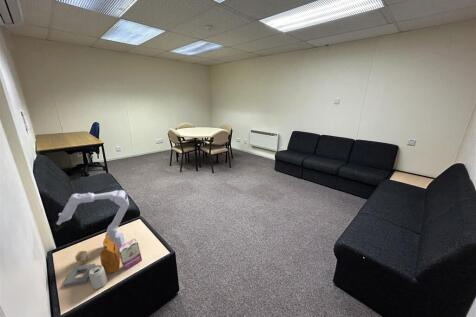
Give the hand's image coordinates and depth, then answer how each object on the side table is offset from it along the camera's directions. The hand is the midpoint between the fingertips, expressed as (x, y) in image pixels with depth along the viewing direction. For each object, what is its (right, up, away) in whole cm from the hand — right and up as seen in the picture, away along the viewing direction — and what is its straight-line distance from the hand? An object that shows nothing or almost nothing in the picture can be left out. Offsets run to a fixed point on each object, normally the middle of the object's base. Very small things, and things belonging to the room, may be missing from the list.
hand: (59, 227), depth 132 cm
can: (+34, -31, -10) cm, 47 cm away
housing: (+18, -29, -5) cm, 35 cm away
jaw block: (+12, -25, +5) cm, 28 cm away
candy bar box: (+46, -26, +4) cm, 53 cm away
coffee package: (+34, -26, +2) cm, 43 cm away
